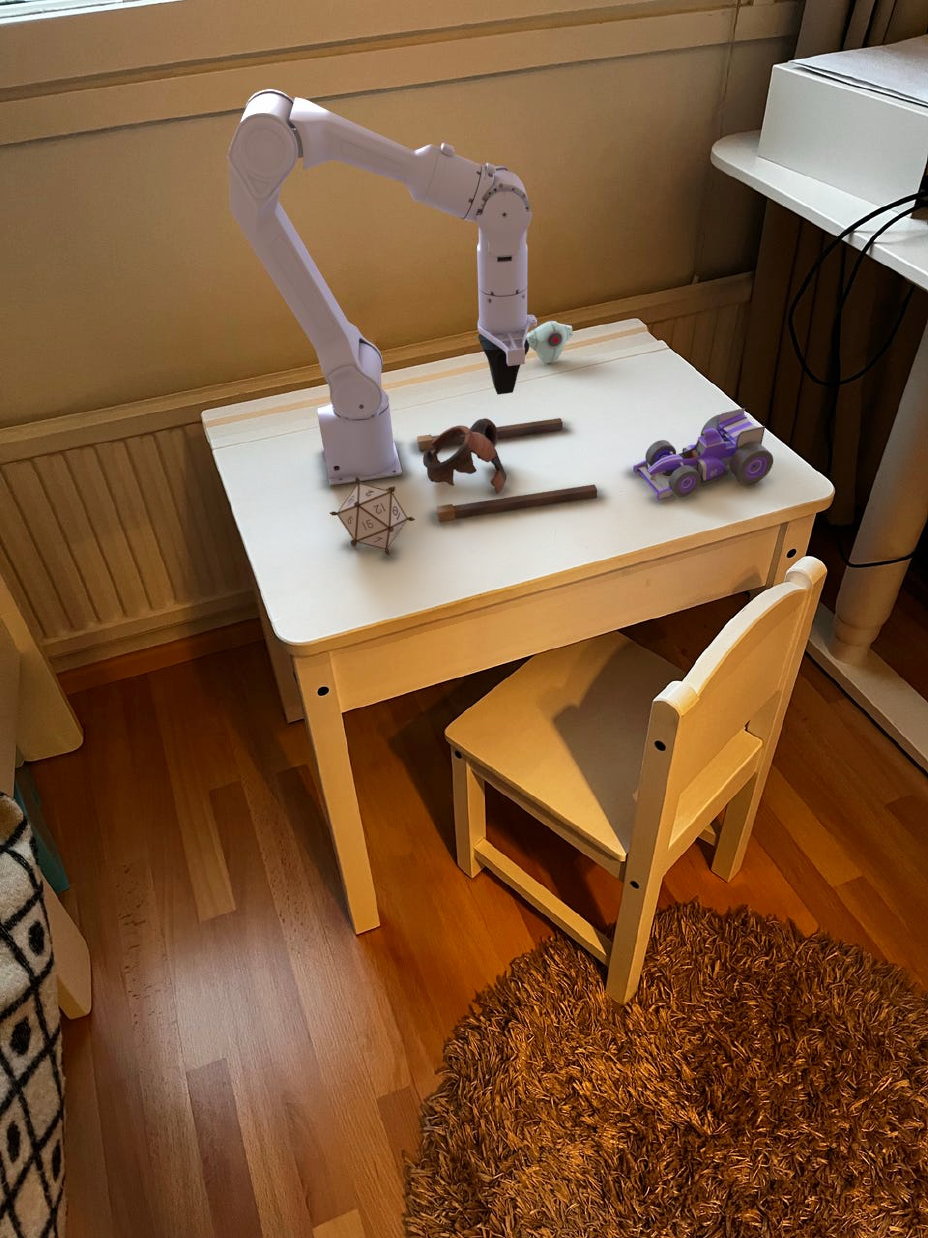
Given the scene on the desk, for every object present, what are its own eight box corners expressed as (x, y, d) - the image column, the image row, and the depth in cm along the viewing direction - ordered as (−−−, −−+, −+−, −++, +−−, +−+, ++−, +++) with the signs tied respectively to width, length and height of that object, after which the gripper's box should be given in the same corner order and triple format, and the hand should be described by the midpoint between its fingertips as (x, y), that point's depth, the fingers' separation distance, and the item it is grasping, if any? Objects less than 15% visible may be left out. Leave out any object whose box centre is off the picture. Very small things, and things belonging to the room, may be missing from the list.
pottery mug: (498, 511, 113) (461, 466, 108) (441, 519, 119) (404, 477, 114) (529, 441, 119) (495, 395, 114) (473, 452, 125) (439, 409, 120)
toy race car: (627, 466, 118) (631, 422, 114) (729, 441, 121) (737, 398, 117) (662, 507, 112) (668, 462, 107) (770, 480, 115) (780, 435, 110)
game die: (366, 561, 112) (334, 485, 111) (429, 537, 111) (397, 459, 109) (346, 575, 104) (311, 493, 102) (414, 549, 102) (379, 465, 100)
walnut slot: (439, 522, 112) (438, 512, 111) (417, 445, 124) (416, 436, 123) (597, 497, 114) (597, 488, 113) (560, 424, 126) (560, 415, 125)
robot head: (568, 352, 141) (569, 310, 137) (579, 364, 138) (581, 322, 134) (520, 362, 140) (520, 320, 135) (530, 374, 137) (530, 332, 132)
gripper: (551, 308, 101) (549, 416, 110) (522, 257, 112) (522, 359, 121) (489, 316, 100) (491, 423, 110) (465, 264, 111) (469, 366, 120)
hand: (504, 390), depth 115 cm, fingers closed
